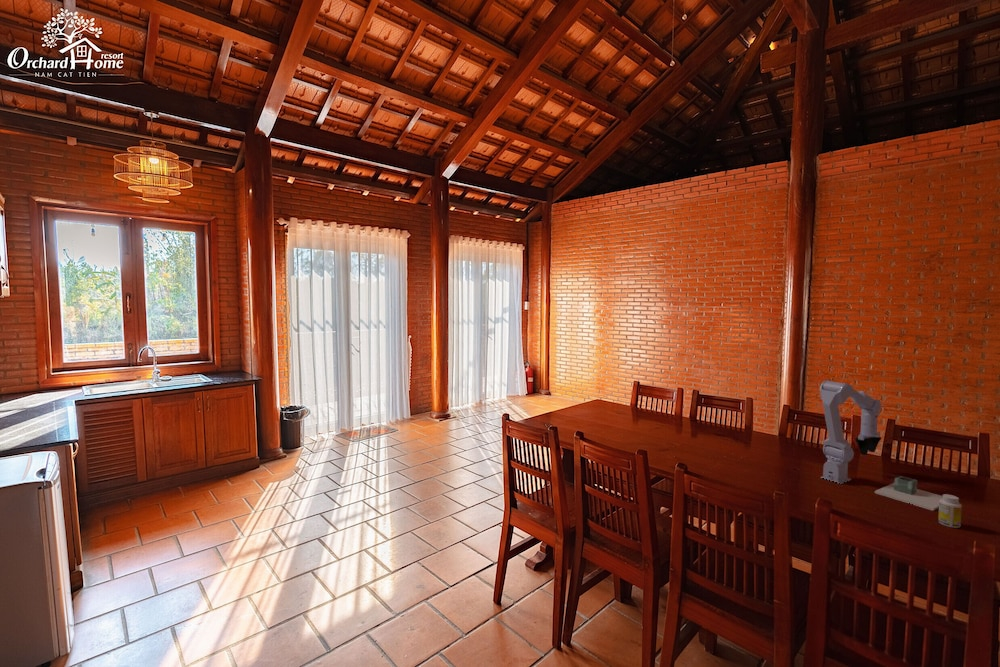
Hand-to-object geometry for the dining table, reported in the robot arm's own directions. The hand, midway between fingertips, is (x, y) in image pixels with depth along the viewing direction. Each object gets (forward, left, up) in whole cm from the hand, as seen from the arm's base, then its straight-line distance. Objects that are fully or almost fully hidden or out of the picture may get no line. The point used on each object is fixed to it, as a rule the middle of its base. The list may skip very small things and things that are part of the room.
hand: (867, 453), depth 203 cm
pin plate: (-14, -21, -9) cm, 27 cm away
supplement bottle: (-32, -37, -10) cm, 50 cm away
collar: (-12, -18, -9) cm, 23 cm away
